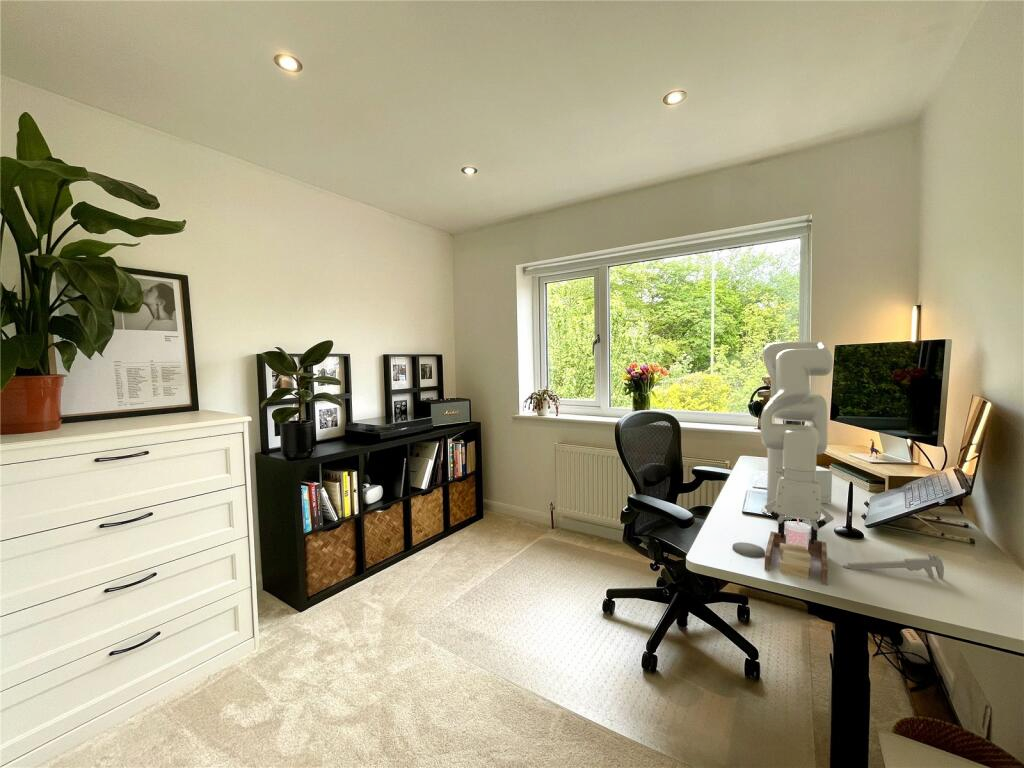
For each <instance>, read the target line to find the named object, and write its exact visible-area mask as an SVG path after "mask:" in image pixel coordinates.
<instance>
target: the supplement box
mask: <svg viewBox="0 0 1024 768" xmlns="http://www.w3.org/2000/svg"><path fill="white" fill-rule="evenodd" d="M816 481H818V482H819V485H820V490H821V503H831V504H832V491H833V489H832V488H833V487H832V486H833V484H832V483H833V471H832V470H831V469H828V468H825V467H821V466H819V465H816Z"/></svg>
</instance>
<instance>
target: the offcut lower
mask: <svg viewBox="0 0 1024 768" xmlns="http://www.w3.org/2000/svg"><path fill="white" fill-rule="evenodd" d="M779 573H781V574H786V575H789V574H790V576H793V577H797V576H798V578H802V579H805V580H809V578H810V568H809V567H803V566H797V565H790V564H784V562H783V560H782V558H781V557H780V561H779Z"/></svg>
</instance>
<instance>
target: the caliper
mask: <svg viewBox="0 0 1024 768" xmlns="http://www.w3.org/2000/svg"><path fill="white" fill-rule="evenodd" d="M927 554H928V557H918V558H917V557H915V558H914V557H913V558H904V560H888V561H887V560H886V561H885V560H884V561H880V560H879V561H859V562H855V561H854V562H848V563H847V564H843V565H842V567H843V568H844V569H850V570H860V571H861V570H878V569H879V570H882V569H883V570H885V569H907V570H908V572H912V571H921V570H924V571H925V572H926V574H927V576H928V577H929V578H930V579H935V577H934V576H935V574H934V572H933V568H935V571H936V574H937V578H938V579H940V580H943V579H944V574H945V573H944V572H945V571H944V569H945V566H944V564H943V560H942V559H941V558H940V557H938V556H939V555H938V554H936V553H933V555H931V554H930V553H927Z"/></svg>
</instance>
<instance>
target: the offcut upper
mask: <svg viewBox="0 0 1024 768" xmlns="http://www.w3.org/2000/svg"><path fill="white" fill-rule="evenodd" d="M779 555H780V559H781V558H782V560H783V562H784V564H790V565H797V566H803V567H809V569H810V568H812V561H811V560H812V559H811V558H812V556H811V554H809V552H808V550H807V549H806V547H805V546H798V545H791V544H784V543H780V548H779Z"/></svg>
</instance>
